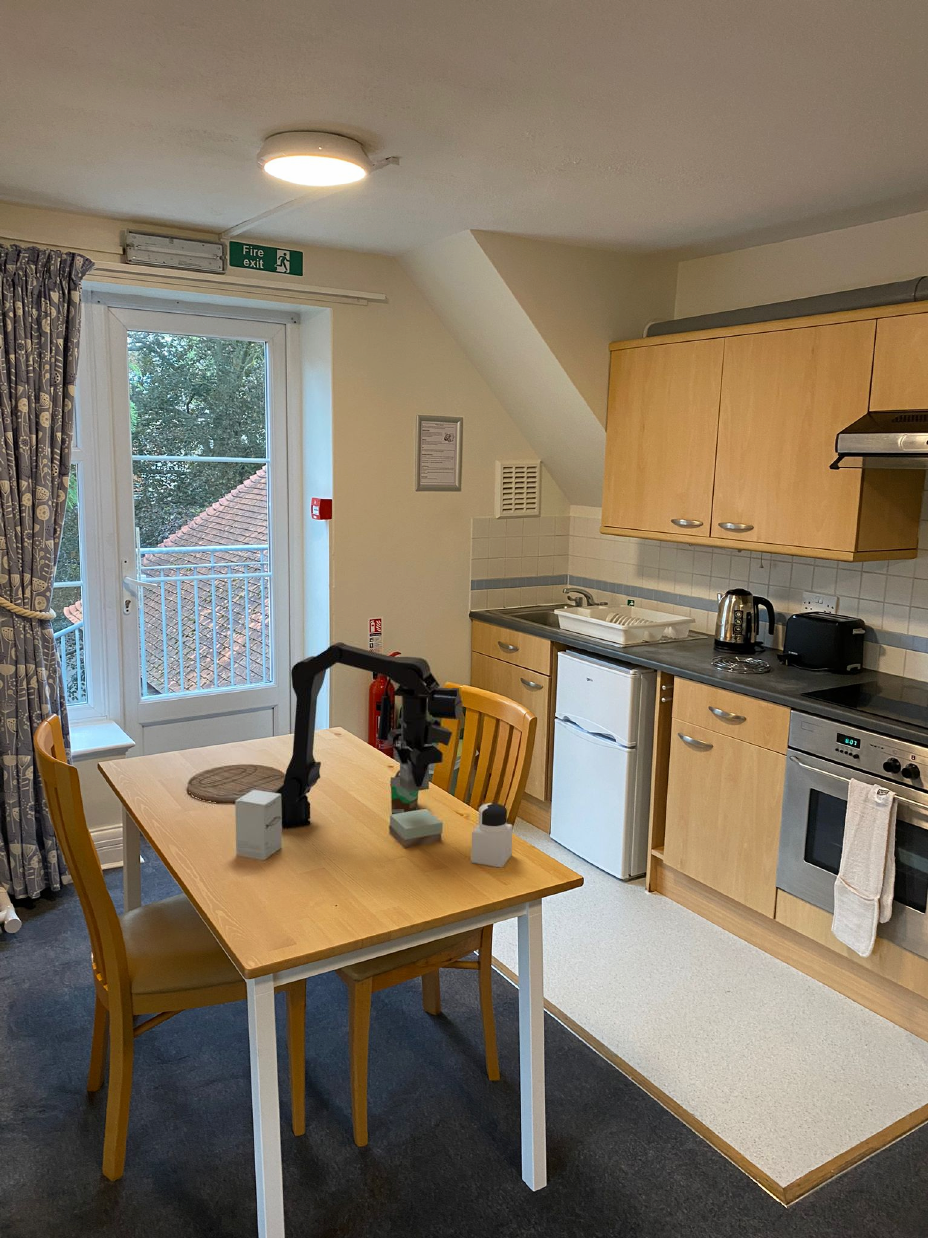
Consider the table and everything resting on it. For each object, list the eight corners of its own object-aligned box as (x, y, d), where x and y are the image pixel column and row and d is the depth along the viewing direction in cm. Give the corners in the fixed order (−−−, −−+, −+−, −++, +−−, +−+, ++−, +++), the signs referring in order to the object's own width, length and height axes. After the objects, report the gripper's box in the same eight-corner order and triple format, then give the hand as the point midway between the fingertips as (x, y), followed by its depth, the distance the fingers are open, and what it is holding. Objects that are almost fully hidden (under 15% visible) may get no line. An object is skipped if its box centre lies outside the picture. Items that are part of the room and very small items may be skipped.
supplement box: (265, 861, 199) (263, 805, 196) (235, 855, 201) (233, 800, 199) (283, 848, 205) (282, 793, 203) (254, 842, 208) (253, 788, 206)
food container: (414, 820, 222) (415, 780, 220) (389, 818, 223) (390, 778, 221) (427, 801, 234) (427, 763, 232) (403, 799, 235) (403, 761, 233)
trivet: (306, 783, 246) (306, 776, 246) (236, 813, 225) (236, 805, 225) (238, 765, 259) (238, 758, 259) (166, 791, 239) (166, 784, 238)
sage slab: (405, 839, 206) (405, 829, 206) (390, 825, 214) (390, 814, 214) (442, 833, 210) (442, 822, 210) (425, 819, 218) (425, 808, 218)
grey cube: (408, 792, 207) (408, 770, 206) (400, 785, 211) (399, 763, 210) (428, 789, 209) (429, 767, 208) (420, 782, 213) (420, 761, 212)
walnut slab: (403, 850, 207) (403, 840, 206) (389, 835, 215) (389, 825, 214) (441, 844, 210) (441, 833, 210) (425, 829, 218) (425, 819, 218)
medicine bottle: (512, 855, 204) (513, 803, 202) (502, 868, 197) (504, 814, 195) (481, 850, 206) (482, 798, 204) (470, 863, 200) (471, 810, 197)
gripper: (465, 722, 202) (464, 791, 205) (431, 701, 219) (431, 765, 221) (417, 728, 197) (417, 798, 200) (386, 706, 214) (387, 771, 217)
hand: (414, 782), depth 210 cm, fingers closed on grey cube, 5 cm apart
